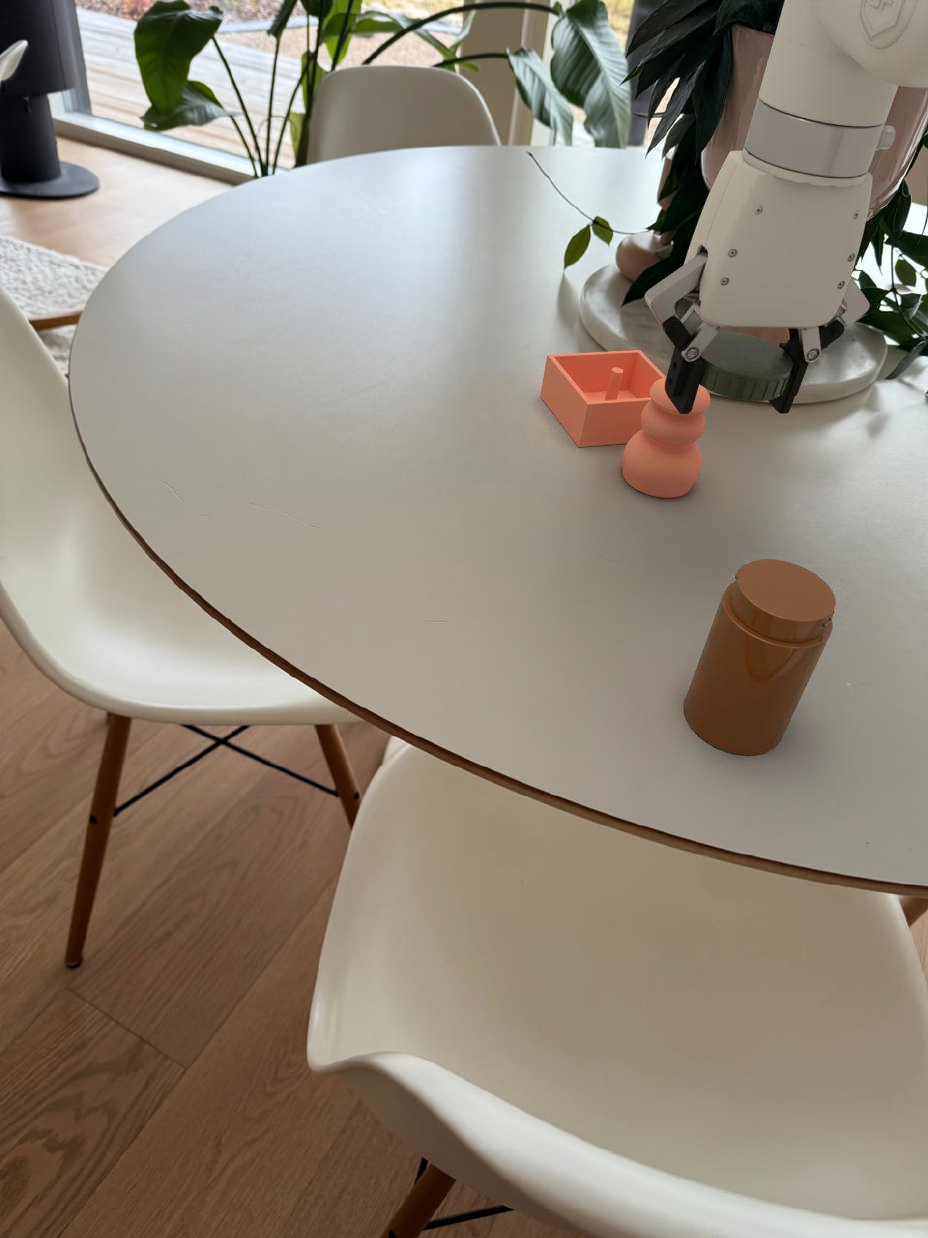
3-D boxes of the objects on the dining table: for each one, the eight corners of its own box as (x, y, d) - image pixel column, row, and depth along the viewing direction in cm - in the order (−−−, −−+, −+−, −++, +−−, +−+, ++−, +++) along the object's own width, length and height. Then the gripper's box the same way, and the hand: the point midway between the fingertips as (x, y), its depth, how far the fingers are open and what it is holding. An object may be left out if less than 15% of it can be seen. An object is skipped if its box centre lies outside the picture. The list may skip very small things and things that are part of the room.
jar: (792, 706, 65) (851, 579, 58) (771, 771, 61) (832, 641, 54) (699, 669, 67) (745, 541, 60) (670, 729, 63) (717, 598, 56)
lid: (665, 367, 70) (672, 343, 69) (724, 345, 74) (731, 322, 73) (747, 411, 67) (756, 387, 66) (804, 385, 71) (813, 362, 70)
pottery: (539, 396, 94) (558, 294, 87) (630, 390, 97) (654, 291, 90) (622, 505, 81) (650, 396, 75) (723, 494, 84) (758, 388, 78)
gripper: (903, 130, 65) (810, 379, 77) (655, 113, 61) (596, 378, 73) (969, 169, 60) (858, 430, 71) (701, 153, 56) (630, 433, 67)
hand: (727, 402), depth 72 cm, fingers closed on lid, 7 cm apart
